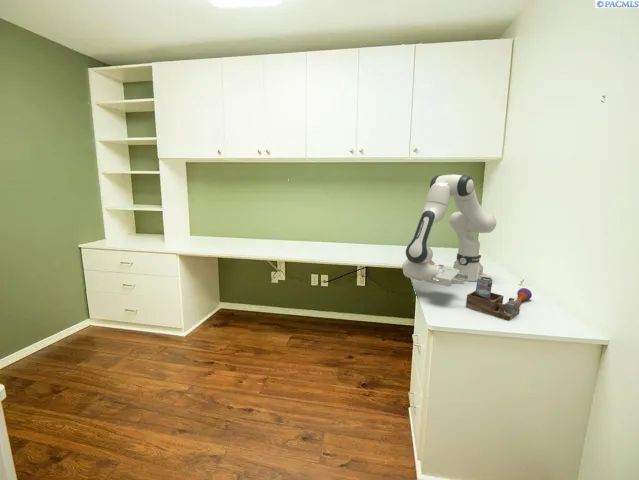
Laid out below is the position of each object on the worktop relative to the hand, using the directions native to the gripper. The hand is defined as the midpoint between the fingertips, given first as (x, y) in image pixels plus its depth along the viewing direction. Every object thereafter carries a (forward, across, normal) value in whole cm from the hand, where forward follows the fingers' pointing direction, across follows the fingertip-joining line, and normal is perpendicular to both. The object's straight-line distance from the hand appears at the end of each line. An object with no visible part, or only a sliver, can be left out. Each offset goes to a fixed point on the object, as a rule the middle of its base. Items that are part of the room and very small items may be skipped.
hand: (466, 279), depth 146 cm
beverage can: (+8, 0, +9) cm, 12 cm away
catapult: (+12, -1, +12) cm, 17 cm away
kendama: (+22, +17, +12) cm, 30 cm away
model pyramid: (-38, +58, +12) cm, 71 cm away
